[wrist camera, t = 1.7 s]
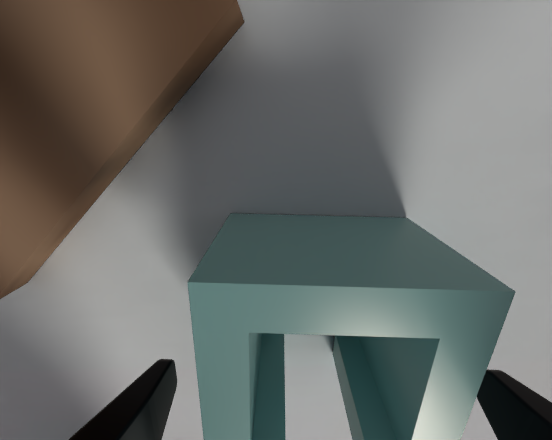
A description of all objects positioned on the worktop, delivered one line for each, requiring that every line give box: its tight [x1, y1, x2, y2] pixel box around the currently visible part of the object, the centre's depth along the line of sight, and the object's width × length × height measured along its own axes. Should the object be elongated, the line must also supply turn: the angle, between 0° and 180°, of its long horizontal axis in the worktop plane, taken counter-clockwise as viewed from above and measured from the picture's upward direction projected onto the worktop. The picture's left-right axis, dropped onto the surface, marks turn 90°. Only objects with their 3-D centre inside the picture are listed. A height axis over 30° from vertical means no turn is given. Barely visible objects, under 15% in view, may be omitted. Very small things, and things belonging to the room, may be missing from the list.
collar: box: [188, 213, 515, 440], centre depth 9 cm, size 7×7×5 cm
